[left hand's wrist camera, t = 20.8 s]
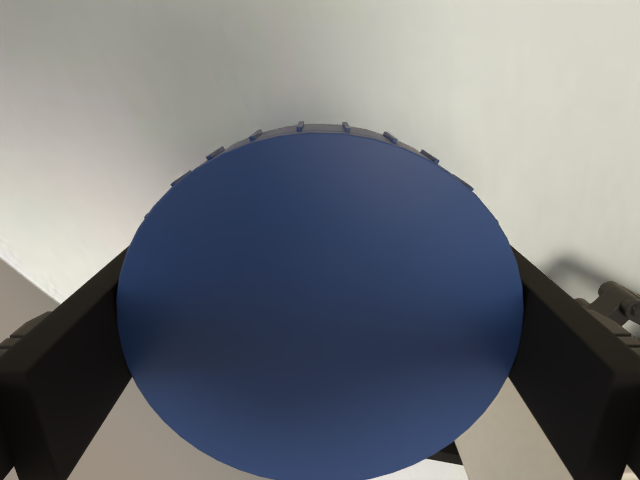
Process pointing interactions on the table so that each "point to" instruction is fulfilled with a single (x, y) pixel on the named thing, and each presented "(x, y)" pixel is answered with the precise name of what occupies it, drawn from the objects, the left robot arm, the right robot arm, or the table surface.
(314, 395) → the lid
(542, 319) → the left robot arm
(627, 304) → the right robot arm
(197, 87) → the table surface
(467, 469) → the jar
